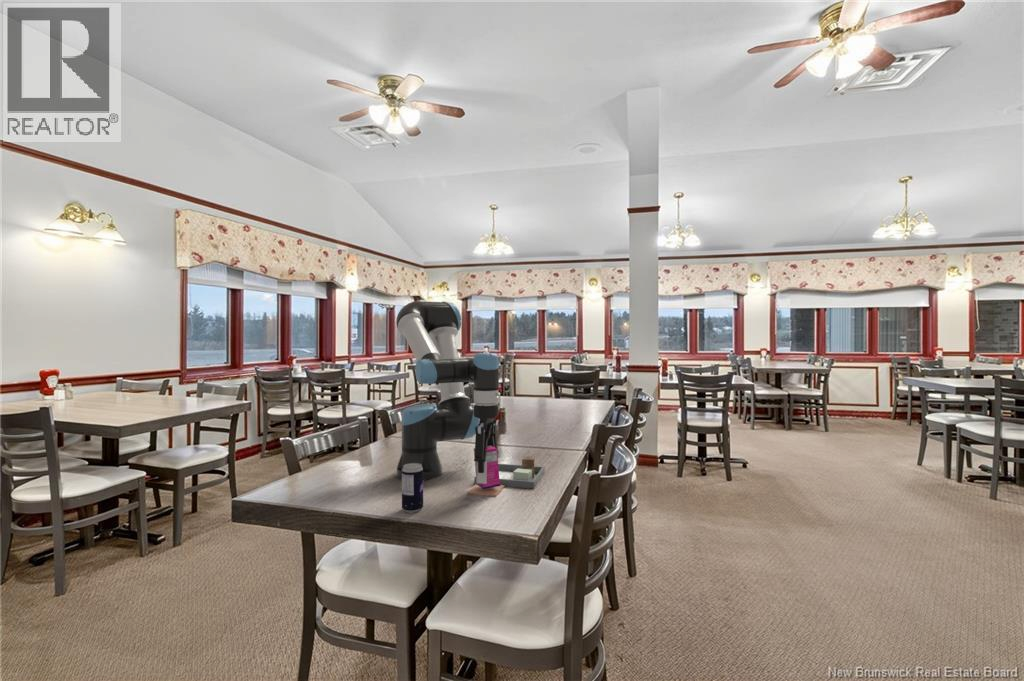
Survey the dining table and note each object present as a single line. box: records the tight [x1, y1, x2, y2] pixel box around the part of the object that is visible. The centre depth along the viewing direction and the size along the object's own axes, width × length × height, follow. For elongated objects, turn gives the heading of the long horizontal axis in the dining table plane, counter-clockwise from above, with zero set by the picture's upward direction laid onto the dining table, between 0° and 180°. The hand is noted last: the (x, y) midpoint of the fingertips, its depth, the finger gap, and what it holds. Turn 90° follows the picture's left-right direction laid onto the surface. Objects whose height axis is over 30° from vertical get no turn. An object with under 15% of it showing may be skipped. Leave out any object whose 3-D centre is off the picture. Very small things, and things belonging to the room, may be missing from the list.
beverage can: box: [401, 463, 424, 514], centre depth 126 cm, size 6×6×12 cm
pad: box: [466, 484, 506, 497], centre depth 142 cm, size 9×9×1 cm
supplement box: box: [473, 445, 500, 489], centre depth 142 cm, size 6×6×12 cm
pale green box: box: [512, 468, 533, 481], centre depth 149 cm, size 5×4×4 cm
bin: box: [473, 463, 546, 489], centre depth 154 cm, size 19×17×2 cm
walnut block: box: [521, 455, 535, 479], centre depth 157 cm, size 4×4×6 cm
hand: (486, 478), depth 142 cm, fingers closed on supplement box, 8 cm apart
